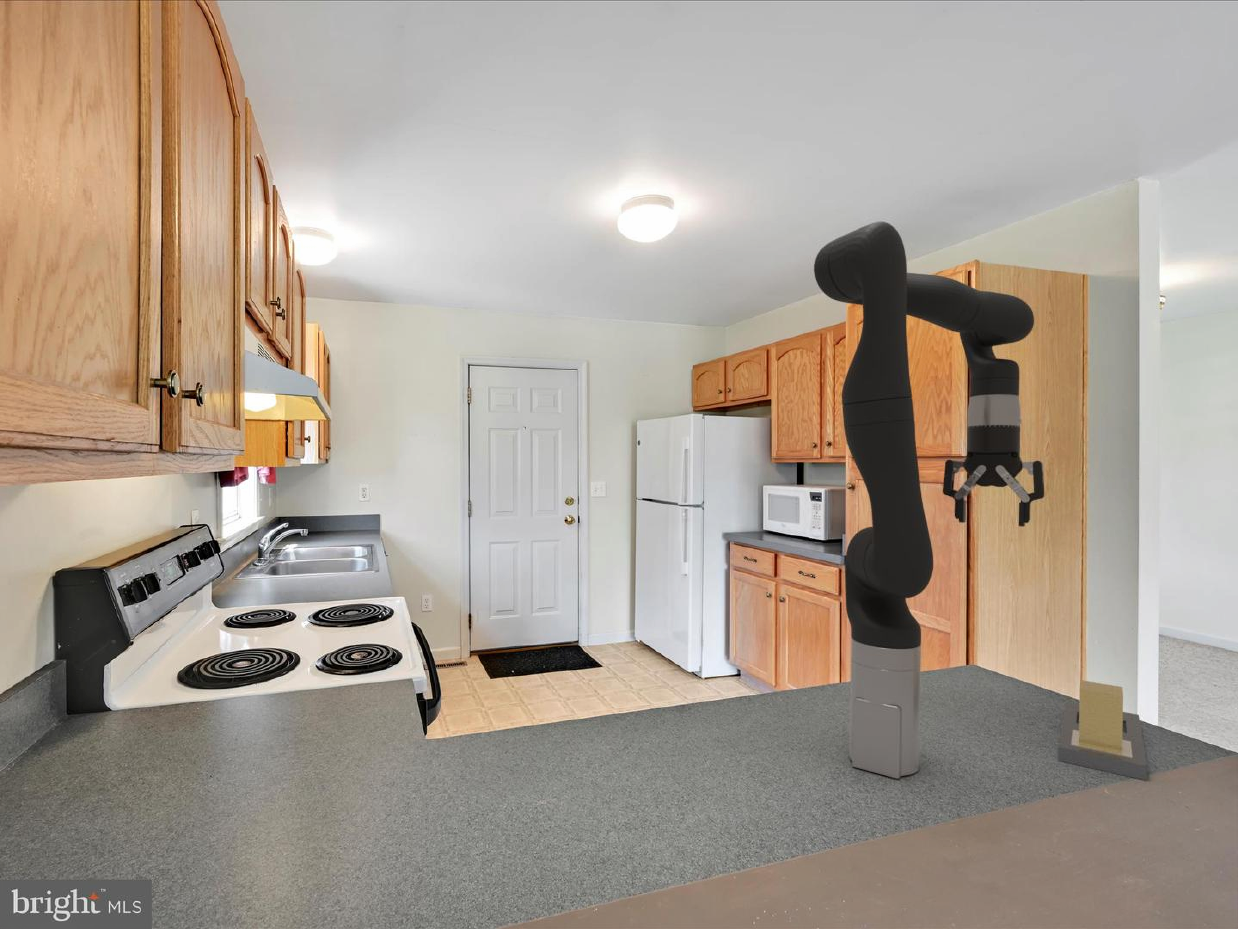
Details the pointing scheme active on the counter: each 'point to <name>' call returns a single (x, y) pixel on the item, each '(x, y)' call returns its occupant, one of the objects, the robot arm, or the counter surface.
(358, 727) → the counter surface
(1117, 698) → the yellow wooden block
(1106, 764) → the grey slotted holder
